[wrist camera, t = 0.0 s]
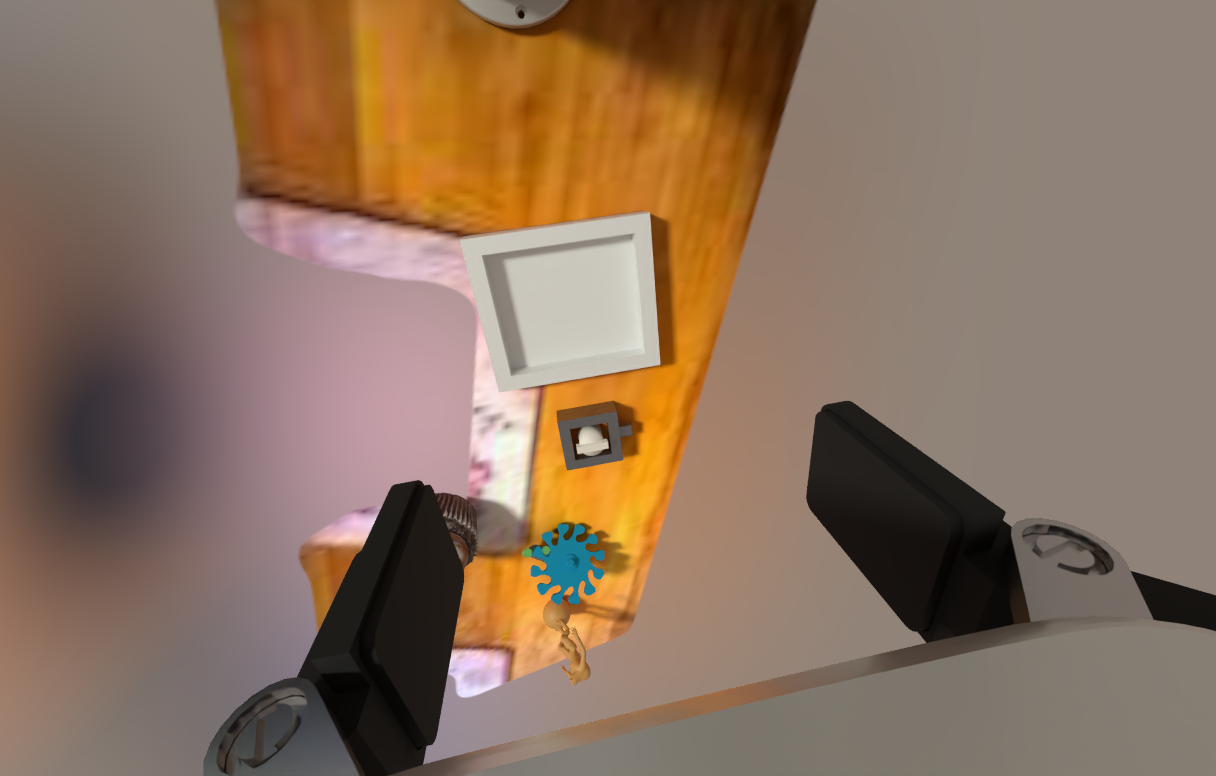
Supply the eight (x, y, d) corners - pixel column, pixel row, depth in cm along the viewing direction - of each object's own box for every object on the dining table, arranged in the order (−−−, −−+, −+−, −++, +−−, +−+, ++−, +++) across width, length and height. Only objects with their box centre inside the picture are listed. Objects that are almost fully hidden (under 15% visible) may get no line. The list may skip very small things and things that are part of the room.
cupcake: (464, 553, 58) (452, 621, 49) (391, 532, 55) (363, 601, 46) (495, 502, 55) (488, 564, 47) (420, 476, 52) (396, 538, 43)
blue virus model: (616, 537, 59) (593, 617, 55) (602, 538, 64) (580, 610, 60) (541, 508, 57) (511, 589, 53) (533, 511, 62) (505, 584, 58)
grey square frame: (556, 410, 51) (557, 422, 49) (626, 398, 52) (630, 409, 49) (565, 457, 54) (567, 470, 52) (631, 445, 55) (635, 457, 52)
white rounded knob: (572, 423, 52) (575, 440, 48) (602, 417, 52) (606, 434, 49) (576, 442, 53) (578, 460, 50) (604, 437, 53) (609, 455, 50)
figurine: (547, 581, 63) (549, 664, 52) (587, 582, 64) (598, 663, 54) (538, 619, 66) (539, 705, 56) (577, 620, 68) (585, 703, 57)
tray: (463, 236, 41) (459, 239, 39) (644, 210, 43) (649, 212, 40) (500, 382, 48) (499, 392, 46) (654, 356, 50) (660, 364, 47)
